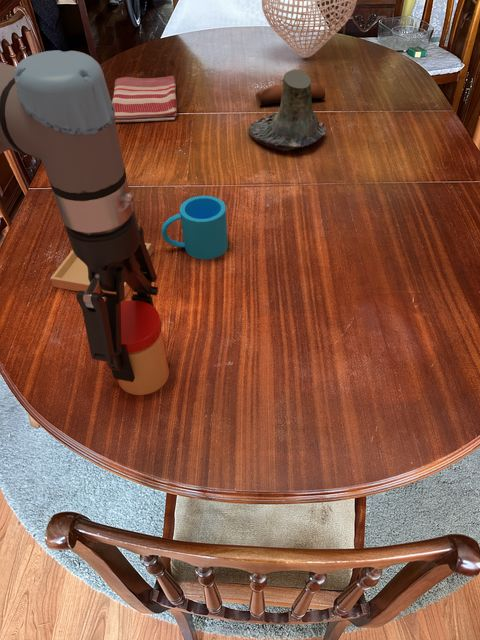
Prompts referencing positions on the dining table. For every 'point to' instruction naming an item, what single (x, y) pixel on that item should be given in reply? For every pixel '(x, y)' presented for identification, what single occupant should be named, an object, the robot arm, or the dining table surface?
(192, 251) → the mug
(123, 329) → the lid
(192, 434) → the dining table surface
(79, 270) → the tray
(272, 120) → the tree stump
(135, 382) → the jar
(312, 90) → the sunglasses case
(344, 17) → the heart
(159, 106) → the dish towel
